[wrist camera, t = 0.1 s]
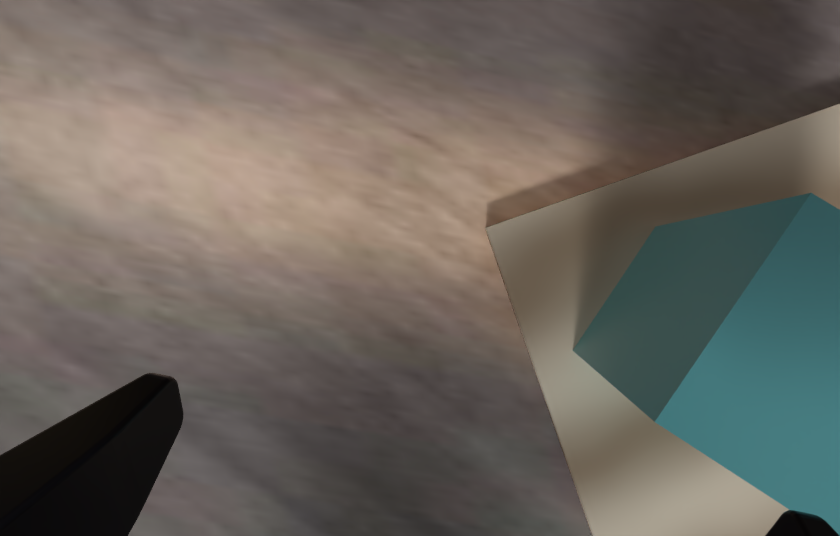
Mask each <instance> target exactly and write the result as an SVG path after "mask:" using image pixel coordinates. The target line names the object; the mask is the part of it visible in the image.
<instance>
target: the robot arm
mask: <svg viewBox="0 0 840 536" xmlns="http://www.w3.org/2000/svg"><path fill="white" fill-rule="evenodd" d="M182 422H183V408H182V403H181V398H180V393H179V388H178V384H177V381H176V380H175V379H174V378H173V377H170V376H166V375H161V374H156V373H148V374H145V375H143V376H141V377H139V378H137V379H135V380H134V381H132V382H130V383H128V384H126V385H125V386H123V387H121V388H119V389H118V390H116V391H114V392H112V393H110V394H109V395H107V396H105V397H103V398H101V399H100V400H98V401H96V402H94V403H93V404H91V405H89V406H87V407H85V408H84V409H82V410H80V411H78V412H77V413H75V414H73V415H71V416H69V417H68V418H66V419H64V420H62V421H61V422H59V423H57V424H55V425H53V426H52V427H50V428H48V429H46V430H44V431H43V432H41V433H39V434H37V435H36V436H34V437H32V438H30V439H28V440H27V441H25V442H23V443H21V444H20V445H18V446H16V447H14V448H12V449H11V450H9V451H7V452H5V453H3V454H2V455H0V536H128V534H129V532H130V531H131V529H132V527H133V525H134V524H135V522H136V520H137V518H138V516H139V514H140V512H141V510H142V508H143V506H144V504H145V502H146V500H147V498H148V496H149V494H150V492H151V490H152V487H153V485H154V483H155V481H156V479H157V477H158V475H159V473H160V471H161V468H162V466H163V464H164V462H165V460H166V458H167V456H168V454H169V451H170V449H171V447H172V445H173V443H174V441H175V439H176V437H177V435H178V432H179V430H180V428H181V425H182ZM765 536H840V535H839V534H838V533H837V532H836V531H835V530H834V529H833V528H832V527H831V526H830V525H829V524H828V523H827V522H826V521H825V520H824V519H822V518H821V517H819V516H817V515H814V514H809V513H805V512H800V511H795V510H788V511H785V512H784V513H783V514H782V515H781V516H780V517H779V518H778V520H777V521H776V522H775V524H774V525H773V526H772V527H771V529H770V530H769V531H768V533H767V534H766V535H765Z"/></svg>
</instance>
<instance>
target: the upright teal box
mask: <svg viewBox="0 0 840 536" xmlns="http://www.w3.org/2000/svg"><path fill="white" fill-rule="evenodd" d="M573 351H574V352H575V353H576V354H577V355H578V356H580V357H581V358H582V359H583V360H584V361H585V362H586V363H588V364H589V365H590V366H591V367H592V368H593V369H594V370H596V371H597V372H598V373H599V374H600V375H601V376H602V377H604V378H605V379H606V380H607V381H608V382H609V383H611V384H612V385H613V386H614V387H615V388H616V389H617V390H619V391H620V392H621V393H622V394H623V395H624V396H625V397H627V398H628V399H629V400H630V401H631V402H632V403H633V404H635V405H636V406H637V407H638V408H639V409H640V410H641V411H643V412H644V413H645V414H646V415H647V416H648V417H650V418H651V419H652V420H653V421H654V422H655V423H657V424H659V425H660V426H662V427H663V428H665V429H666V430H668V431H669V432H671V433H672V434H674V435H675V436H677V437H679V438H680V439H682V440H683V441H685V442H686V443H688V444H689V445H691V446H692V447H694V448H695V449H697V450H699V451H700V452H702V453H703V454H705V455H706V456H708V457H709V458H711V459H712V460H714V461H715V462H717V463H718V464H720V465H722V466H723V467H725V468H726V469H728V470H729V471H731V472H732V473H734V474H735V475H737V476H738V477H740V478H742V479H743V480H745V481H746V482H748V483H749V484H751V485H752V486H754V487H755V488H757V489H758V490H760V491H762V492H763V493H765V494H766V495H768V496H769V497H771V498H772V499H774V500H775V501H777V502H778V503H780V504H782V505H783V506H785V507H786V508H788V509H789V510H795V511H800V512H805V513H809V514H814V515H817V516H819V517H821V518H822V519H824V520H825V521H826V522H827V523H828V524H829V525H830V526H831V527H832V528H833V529H834V530H835V531H836V532H837V533H838V534H839V535H840V210H839V209H838V208H836V207H834V206H833V205H831V204H829V203H828V202H826V201H824V200H823V199H821V198H819V197H818V196H816V195H814V194H813V193H808V194H803V195H799V196H794V197H789V198H785V199H780V200H776V201H771V202H766V203H762V204H757V205H752V206H748V207H743V208H739V209H734V210H729V211H725V212H720V213H716V214H711V215H706V216H702V217H697V218H693V219H688V220H683V221H679V222H674V223H670V224H665V225H660V226H656V227H655V228H654V229H653V231H652V232H651V234H650V235H649V237H648V238H647V240H646V241H645V243H644V244H643V246H642V247H641V249H640V250H639V252H638V253H637V255H636V256H635V258H634V259H633V261H632V262H631V264H630V265H629V267H628V268H627V270H626V271H625V273H624V274H623V276H622V277H621V279H620V280H619V282H618V283H617V285H616V286H615V288H614V289H613V291H612V292H611V294H610V295H609V297H608V298H607V300H606V301H605V303H604V304H603V306H602V307H601V309H600V310H599V312H598V313H597V315H596V316H595V318H594V319H593V321H592V322H591V324H590V325H589V327H588V328H587V330H586V331H585V333H584V334H583V336H582V337H581V339H580V340H579V342H578V343H577V345H576V346H575V348H574V349H573Z"/></svg>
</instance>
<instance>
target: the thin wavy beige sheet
mask: <svg viewBox="0 0 840 536" xmlns="http://www.w3.org/2000/svg"><path fill="white" fill-rule="evenodd" d="M808 193H813V194H814V195H816V196H818V197H819V198H821V199H823V200H824V201H826V202H828V203H829V204H831V205H833V206H834V207H836V208H838V209H839V210H840V104H837V105H835V106H832V107H829V108H826V109H823V110H820V111H817V112H815V113H812V114H809V115H806V116H803V117H800V118H797V119H795V120H792V121H789V122H786V123H783V124H780V125H777V126H775V127H772V128H769V129H766V130H763V131H760V132H757V133H755V134H752V135H749V136H746V137H743V138H740V139H737V140H735V141H732V142H729V143H726V144H723V145H720V146H718V147H715V148H712V149H709V150H706V151H703V152H700V153H698V154H695V155H692V156H689V157H686V158H683V159H680V160H678V161H675V162H672V163H669V164H666V165H663V166H660V167H658V168H655V169H652V170H649V171H646V172H643V173H640V174H638V175H635V176H632V177H629V178H626V179H623V180H620V181H618V182H615V183H612V184H609V185H606V186H603V187H601V188H598V189H595V190H592V191H589V192H586V193H583V194H581V195H578V196H575V197H572V198H569V199H566V200H563V201H561V202H558V203H555V204H552V205H549V206H546V207H543V208H541V209H538V210H535V211H532V212H529V213H526V214H523V215H521V216H518V217H515V218H512V219H509V220H506V221H503V222H501V223H498V224H495V225H492V226H489V227H486V229H485V230H486V232H487V235H488V238H489V241H490V244H491V247H492V250H493V253H494V255H495V258H496V261H497V264H498V267H499V270H500V273H501V275H502V278H503V281H504V284H505V287H506V290H507V293H508V296H509V298H510V301H511V304H512V307H513V310H514V313H515V316H516V319H517V321H518V324H519V327H520V330H521V333H522V336H523V339H524V341H525V344H526V347H527V350H528V353H529V356H530V359H531V362H532V364H533V367H534V370H535V373H536V376H537V379H538V382H539V384H540V387H541V390H542V393H543V396H544V399H545V402H546V405H547V407H548V410H549V413H550V416H551V419H552V422H553V425H554V428H555V430H556V433H557V436H558V439H559V442H560V445H561V448H562V450H563V453H564V456H565V459H566V462H567V465H568V468H569V471H570V473H571V476H572V479H573V482H574V485H575V488H576V491H577V493H578V496H579V499H580V502H581V505H582V508H583V511H584V514H585V516H586V519H587V522H588V525H589V528H590V531H591V534H592V536H765V535H766V534H767V533H768V531H769V530H770V529H771V527H772V526H773V525H774V524H775V522H776V521H777V520H778V518H779V517H780V516H781V515H782V514H783V513H784V512H785V511H788V510H789V509H788V508H786V507H785V506H783V505H782V504H780V503H778V502H777V501H775V500H774V499H772V498H771V497H769V496H768V495H766V494H765V493H763V492H762V491H760V490H758V489H757V488H755V487H754V486H752V485H751V484H749V483H748V482H746V481H745V480H743V479H742V478H740V477H738V476H737V475H735V474H734V473H732V472H731V471H729V470H728V469H726V468H725V467H723V466H722V465H720V464H718V463H717V462H715V461H714V460H712V459H711V458H709V457H708V456H706V455H705V454H703V453H702V452H700V451H699V450H697V449H695V448H694V447H692V446H691V445H689V444H688V443H686V442H685V441H683V440H682V439H680V438H679V437H677V436H675V435H674V434H672V433H671V432H669V431H668V430H666V429H665V428H663V427H662V426H660V425H659V424H657V423H655V422H654V421H653V420H652V419H651V418H650V417H648V416H647V415H646V414H645V413H644V412H643V411H641V410H640V409H639V408H638V407H637V406H636V405H635V404H633V403H632V402H631V401H630V400H629V399H628V398H627V397H625V396H624V395H623V394H622V393H621V392H620V391H619V390H617V389H616V388H615V387H614V386H613V385H612V384H611V383H609V382H608V381H607V380H606V379H605V378H604V377H602V376H601V375H600V374H599V373H598V372H597V371H596V370H594V369H593V368H592V367H591V366H590V365H589V364H588V363H586V362H585V361H584V360H583V359H582V358H581V357H580V356H578V355H577V354H576V353H575V352H574V351H573V349H574V348H575V346H576V345H577V343H578V342H579V340H580V339H581V337H582V336H583V334H584V333H585V331H586V330H587V328H588V327H589V325H590V324H591V322H592V321H593V319H594V318H595V316H596V315H597V313H598V312H599V310H600V309H601V307H602V306H603V304H604V303H605V301H606V300H607V298H608V297H609V295H610V294H611V292H612V291H613V289H614V288H615V286H616V285H617V283H618V282H619V280H620V279H621V277H622V276H623V274H624V273H625V271H626V270H627V268H628V267H629V265H630V264H631V262H632V261H633V259H634V258H635V256H636V255H637V253H638V252H639V250H640V249H641V247H642V246H643V244H644V243H645V241H646V240H647V238H648V237H649V235H650V234H651V232H652V231H653V229H654V228H655V227H656V226H660V225H665V224H670V223H674V222H679V221H683V220H688V219H693V218H697V217H702V216H706V215H711V214H716V213H720V212H725V211H729V210H734V209H739V208H743V207H748V206H752V205H757V204H762V203H766V202H771V201H776V200H780V199H785V198H789V197H794V196H799V195H803V194H808Z"/></svg>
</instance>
